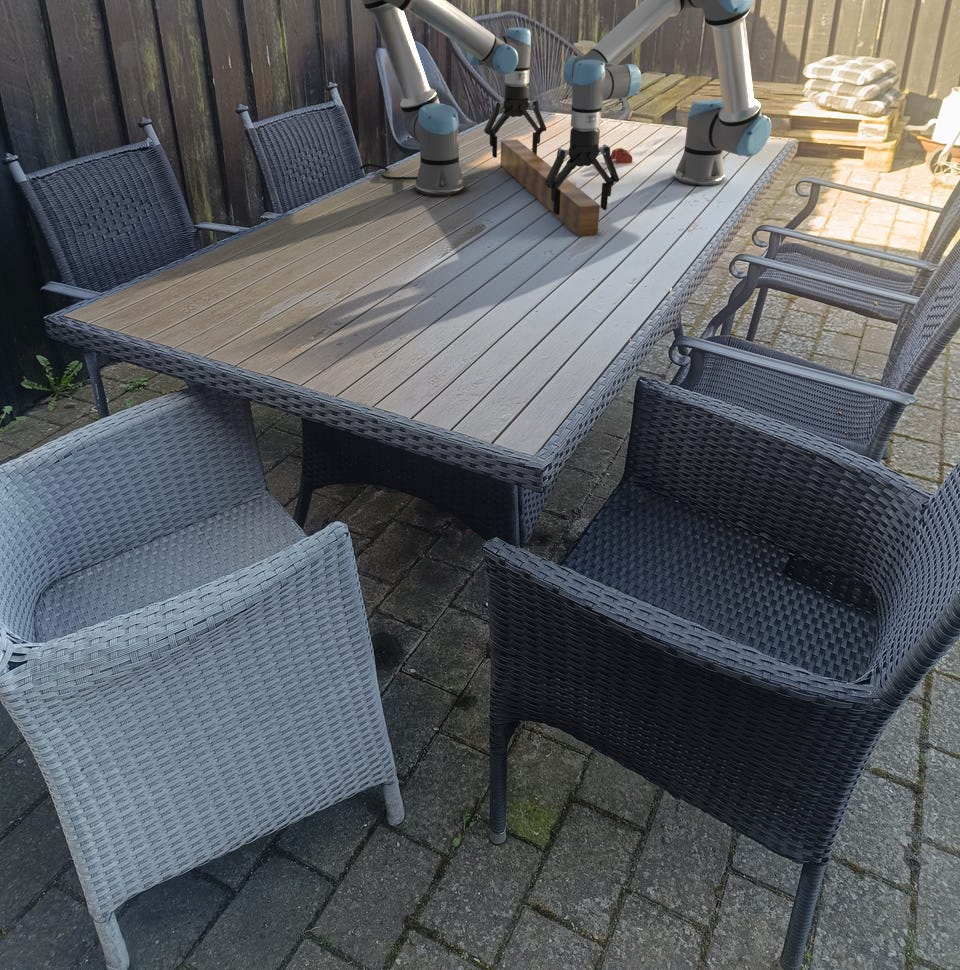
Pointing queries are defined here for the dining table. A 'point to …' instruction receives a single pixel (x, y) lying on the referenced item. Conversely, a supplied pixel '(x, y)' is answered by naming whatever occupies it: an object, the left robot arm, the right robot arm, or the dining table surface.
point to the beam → (532, 175)
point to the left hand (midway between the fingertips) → (514, 155)
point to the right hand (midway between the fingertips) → (580, 211)
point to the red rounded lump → (621, 156)
